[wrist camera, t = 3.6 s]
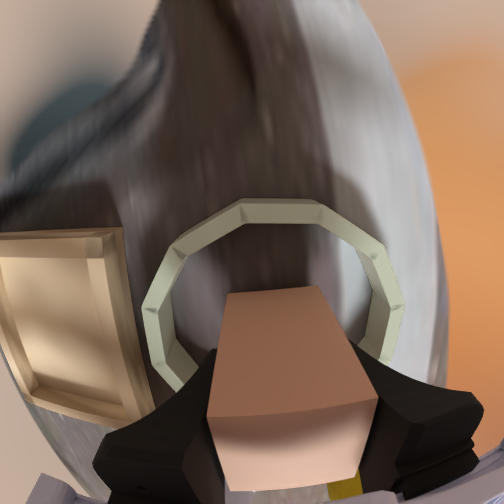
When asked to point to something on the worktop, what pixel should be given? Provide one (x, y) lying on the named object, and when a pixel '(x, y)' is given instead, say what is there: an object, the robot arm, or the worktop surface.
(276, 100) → the worktop surface
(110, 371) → the birch tray
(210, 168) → the worktop surface
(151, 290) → the ceramic ring
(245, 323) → the pink block
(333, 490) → the lemon
